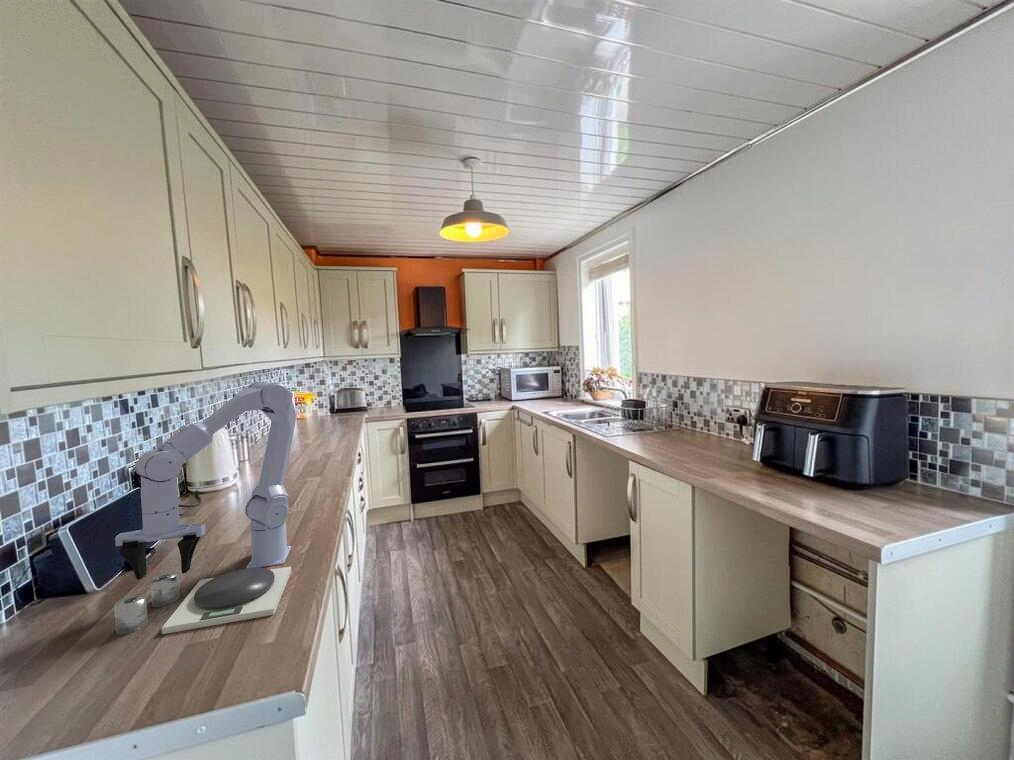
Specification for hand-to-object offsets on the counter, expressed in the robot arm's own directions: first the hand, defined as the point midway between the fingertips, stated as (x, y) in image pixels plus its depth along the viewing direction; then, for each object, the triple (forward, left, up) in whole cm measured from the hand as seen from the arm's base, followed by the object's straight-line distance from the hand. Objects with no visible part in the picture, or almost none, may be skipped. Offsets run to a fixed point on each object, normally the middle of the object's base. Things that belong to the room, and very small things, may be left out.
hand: (164, 573), depth 85 cm
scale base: (+4, +14, -6) cm, 15 cm away
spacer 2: (0, 0, -6) cm, 6 cm away
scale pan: (+3, +14, -4) cm, 14 cm away
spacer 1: (+8, -2, -6) cm, 10 cm away
